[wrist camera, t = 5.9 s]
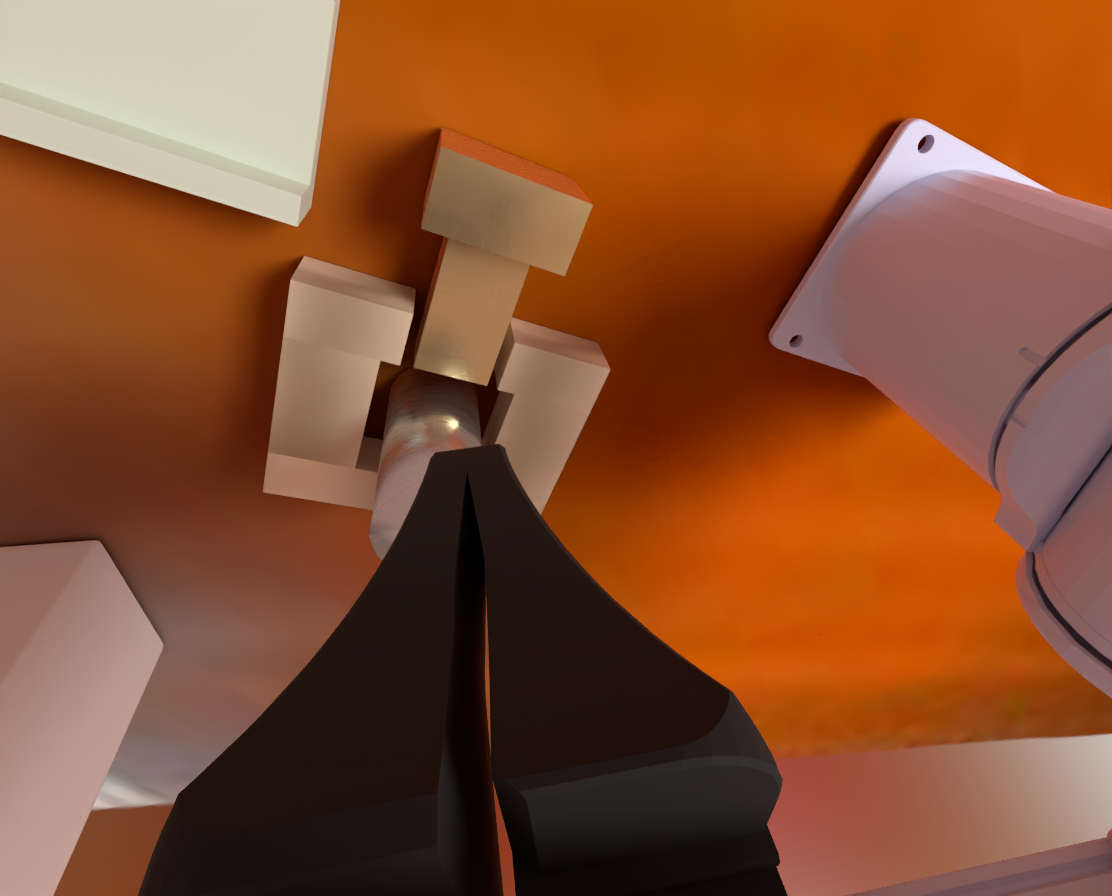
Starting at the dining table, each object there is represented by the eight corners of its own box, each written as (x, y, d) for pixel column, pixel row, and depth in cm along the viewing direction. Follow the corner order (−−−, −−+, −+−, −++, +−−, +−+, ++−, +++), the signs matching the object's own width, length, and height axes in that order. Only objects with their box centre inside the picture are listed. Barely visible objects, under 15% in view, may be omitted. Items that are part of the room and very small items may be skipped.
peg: (488, 375, 21) (504, 503, 15) (464, 443, 23) (470, 581, 17) (399, 352, 20) (382, 481, 14) (381, 425, 22) (359, 567, 16)
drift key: (572, 178, 17) (593, 204, 15) (505, 362, 21) (512, 408, 18) (441, 127, 16) (441, 146, 14) (391, 332, 19) (384, 377, 17)
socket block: (598, 342, 21) (610, 369, 19) (525, 503, 25) (530, 536, 23) (304, 255, 18) (290, 279, 16) (275, 457, 22) (262, 492, 20)
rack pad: (353, -98, 13) (341, -112, 12) (311, 207, 17) (297, 226, 15) (-32, -291, 11) (-114, -344, 9) (14, 110, 14) (-38, 122, 13)
